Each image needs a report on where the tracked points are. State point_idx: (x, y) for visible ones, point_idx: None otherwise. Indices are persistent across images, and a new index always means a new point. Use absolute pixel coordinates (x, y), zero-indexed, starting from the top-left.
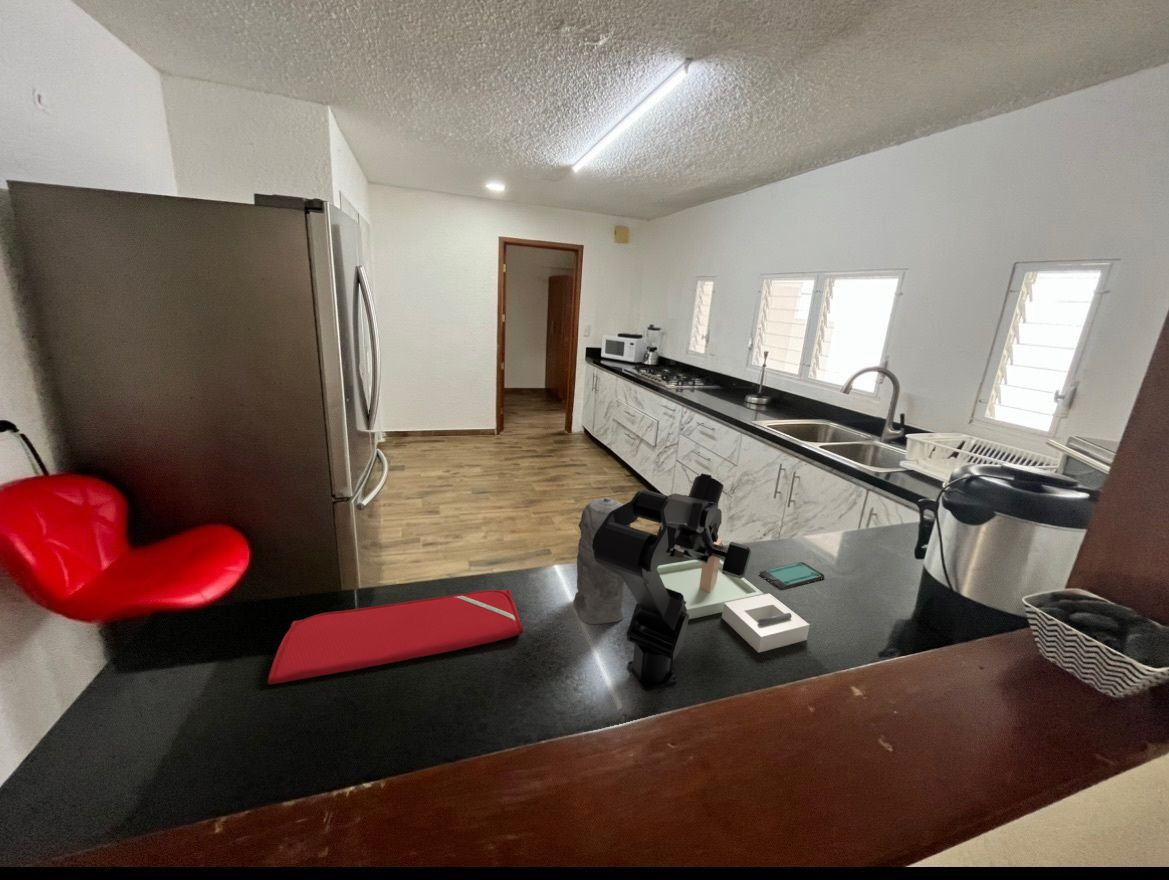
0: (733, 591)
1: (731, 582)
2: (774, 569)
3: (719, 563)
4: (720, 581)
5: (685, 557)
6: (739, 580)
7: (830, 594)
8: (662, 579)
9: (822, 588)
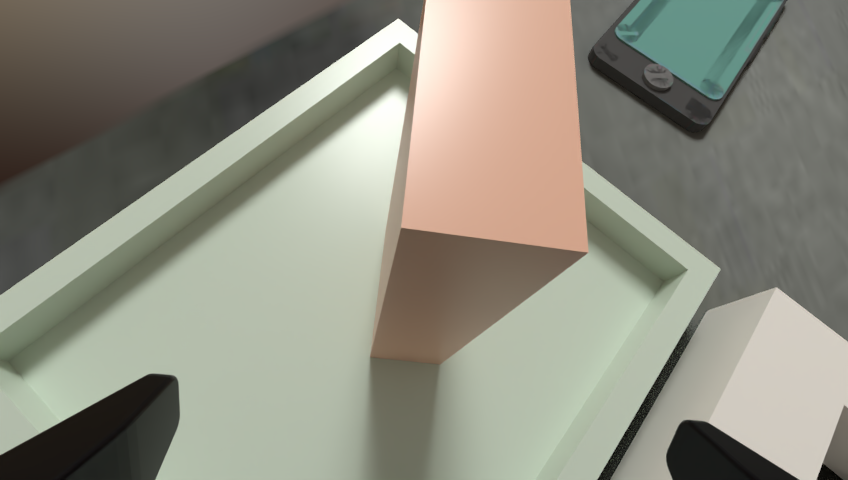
0: (553, 282)
1: None
2: (638, 12)
3: None
4: None
5: (164, 436)
6: None
7: (840, 90)
8: None
9: (804, 63)
